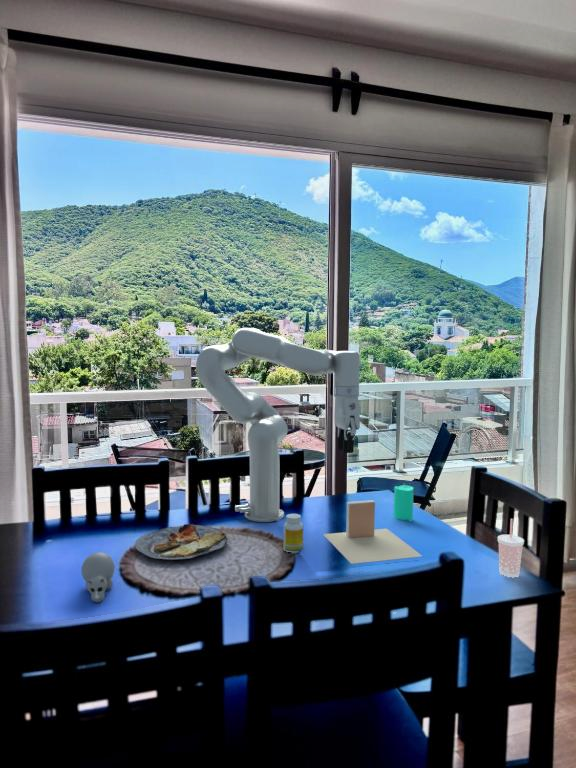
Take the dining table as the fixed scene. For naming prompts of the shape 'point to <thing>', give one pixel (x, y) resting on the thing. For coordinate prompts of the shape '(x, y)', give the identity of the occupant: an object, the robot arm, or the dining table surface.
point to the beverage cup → (510, 554)
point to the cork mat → (372, 547)
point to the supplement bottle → (293, 534)
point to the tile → (360, 518)
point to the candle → (403, 502)
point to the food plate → (181, 541)
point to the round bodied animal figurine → (98, 574)
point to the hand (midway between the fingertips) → (345, 450)
